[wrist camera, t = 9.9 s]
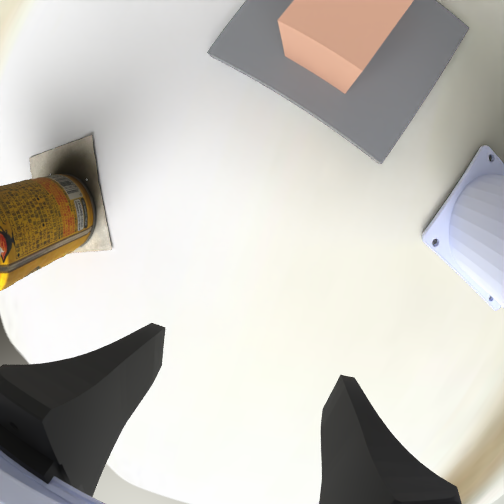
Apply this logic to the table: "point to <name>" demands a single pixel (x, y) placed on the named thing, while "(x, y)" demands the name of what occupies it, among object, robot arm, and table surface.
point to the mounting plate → (368, 82)
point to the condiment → (52, 212)
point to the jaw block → (338, 35)
